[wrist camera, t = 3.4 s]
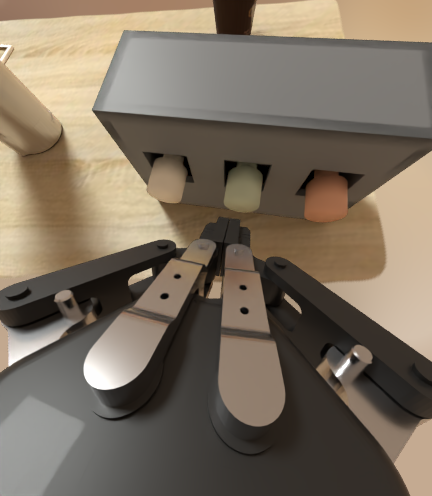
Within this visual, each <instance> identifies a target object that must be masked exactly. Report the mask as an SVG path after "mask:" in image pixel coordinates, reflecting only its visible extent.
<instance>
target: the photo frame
mask: <svg viewBox="0 0 432 496" xmlns="http://www.w3.org/2000/svg"><path fill="white" fill-rule="evenodd" d="M0 47H6V48H7V50H6V51H5V53H4V54H3V56H2V58H1V59H0V60H1V61H2V62H3V63H4V64H5V62H6V61H7V59H8V57H9V56H10V54H11V52H12V51H13V49H14V47H13V46H12V45H0Z"/></svg>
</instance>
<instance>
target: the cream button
mask: <svg viewBox="0 0 432 496" xmlns="http://www.w3.org/2000/svg"><path fill="white" fill-rule="evenodd" d="M184 157H185V156H181V155H171V154H164V155H163V157H159V158H157V159H155V161H154V164H153V168H152V171H151V175H150V178H149V182H148V185H147V192H148V193H149V194H150V195H151V196H152V197H154V198H155V199H157V200H160V201H163V202H166V203H178V202H180V201H181V199H182V195H183V190H184V186H185V181H186V177H187V170H186V168H185V167H184V166H183V161H184Z"/></svg>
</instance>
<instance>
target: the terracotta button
mask: <svg viewBox="0 0 432 496" xmlns="http://www.w3.org/2000/svg"><path fill="white" fill-rule="evenodd" d="M347 213H348V182H347V179H346V178H344V177H342V176H339V172H335V171H325V170H316V169H314V179H313V180H311V181H310V182H309V183H308V184H307V185H306V194H305V210H304V217H305V218H306V219H308V220H310V221H314V222H332V221H336V220H340V219H342V218H344V217H345V216H346V215H347Z"/></svg>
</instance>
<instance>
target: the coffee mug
mask: <svg viewBox="0 0 432 496" xmlns="http://www.w3.org/2000/svg"><path fill="white" fill-rule="evenodd" d="M213 4H214V13H215V22H216V30H217V34H229V35H250V34H251V28H252V23H253V17H254V11H255V6H256V0H213Z"/></svg>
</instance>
